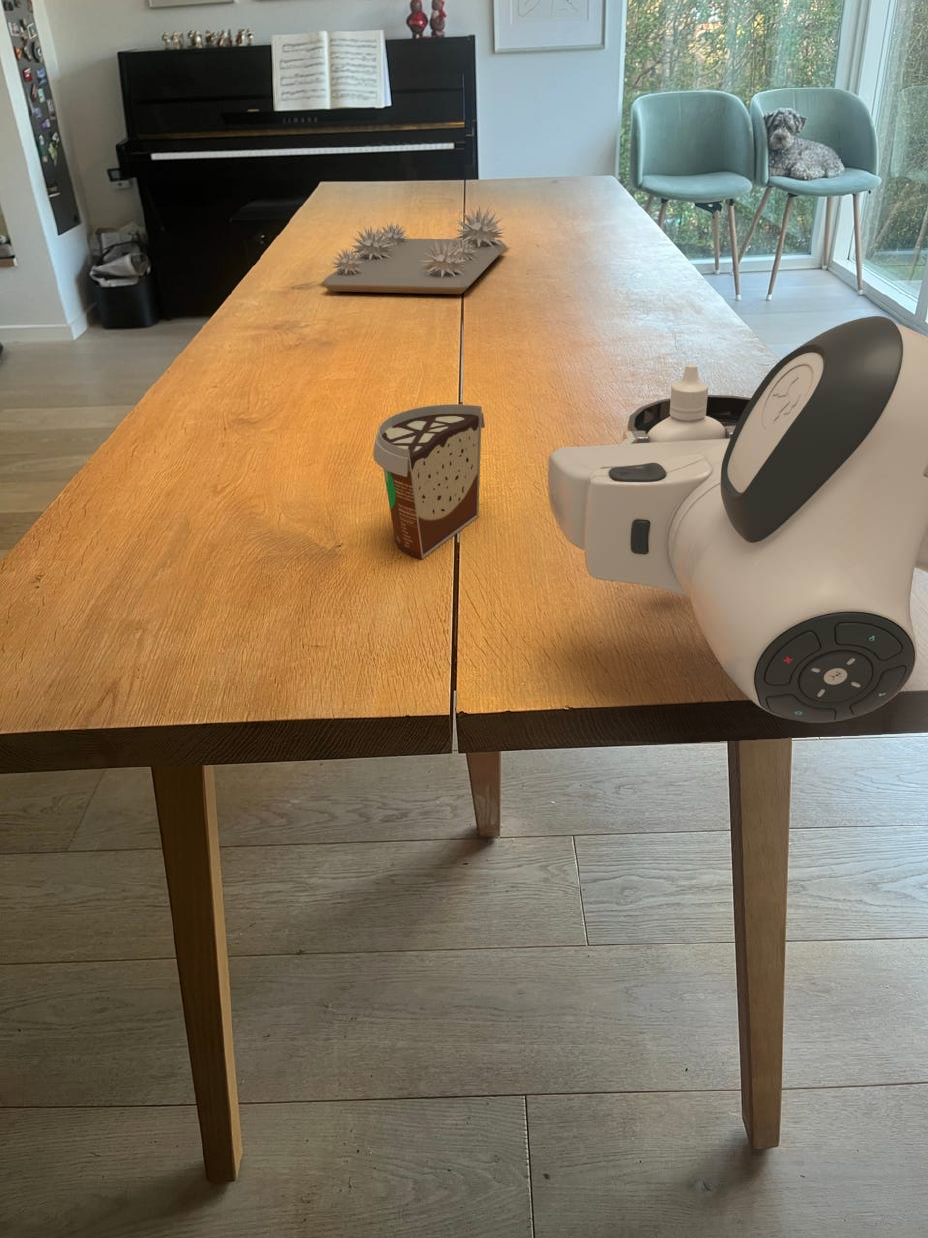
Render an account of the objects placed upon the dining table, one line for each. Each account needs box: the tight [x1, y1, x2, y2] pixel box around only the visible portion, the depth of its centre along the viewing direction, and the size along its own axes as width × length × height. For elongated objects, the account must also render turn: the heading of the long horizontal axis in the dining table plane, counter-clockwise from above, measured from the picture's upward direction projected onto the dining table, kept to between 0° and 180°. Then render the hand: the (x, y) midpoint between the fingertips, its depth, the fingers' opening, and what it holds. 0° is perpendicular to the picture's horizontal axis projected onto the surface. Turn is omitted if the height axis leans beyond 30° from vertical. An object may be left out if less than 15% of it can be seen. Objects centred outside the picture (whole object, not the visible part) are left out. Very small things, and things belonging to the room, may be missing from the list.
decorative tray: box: [321, 205, 507, 295], centre depth 174 cm, size 35×26×10 cm
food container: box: [372, 403, 486, 560], centre depth 84 cm, size 12×6×10 cm, turn 149°
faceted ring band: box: [626, 394, 751, 434], centre depth 94 cm, size 17×17×5 cm
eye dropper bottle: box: [647, 363, 726, 443], centre depth 69 cm, size 4×6×12 cm
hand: (681, 438), depth 69 cm, fingers closed on eye dropper bottle, 5 cm apart
